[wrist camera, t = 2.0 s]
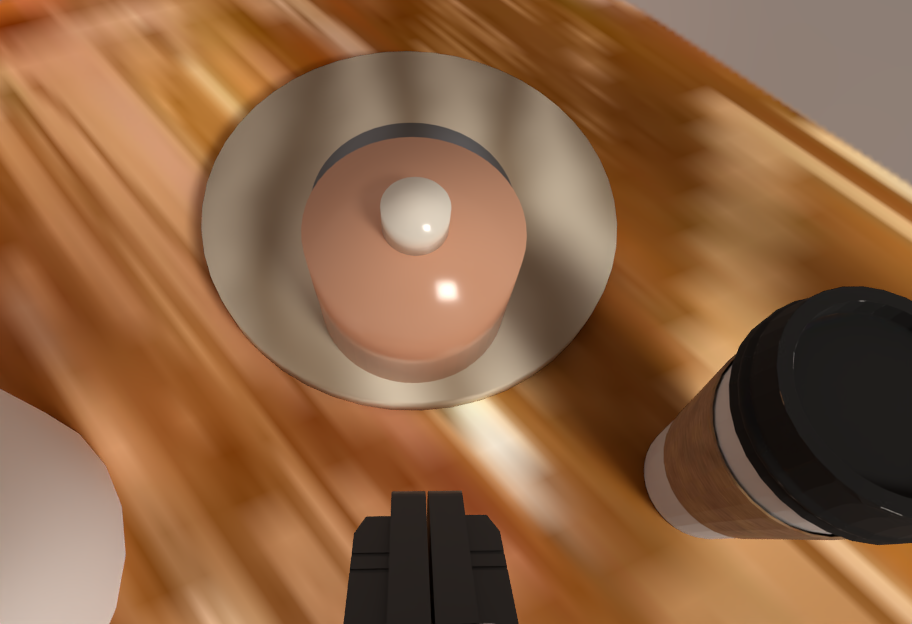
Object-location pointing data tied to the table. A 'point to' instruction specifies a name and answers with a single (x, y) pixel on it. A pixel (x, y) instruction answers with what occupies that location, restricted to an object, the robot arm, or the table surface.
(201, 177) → the table surface
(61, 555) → the grey piece
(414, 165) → the knobbed pink canister
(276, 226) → the serving board
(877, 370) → the coffee cup
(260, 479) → the table surface
